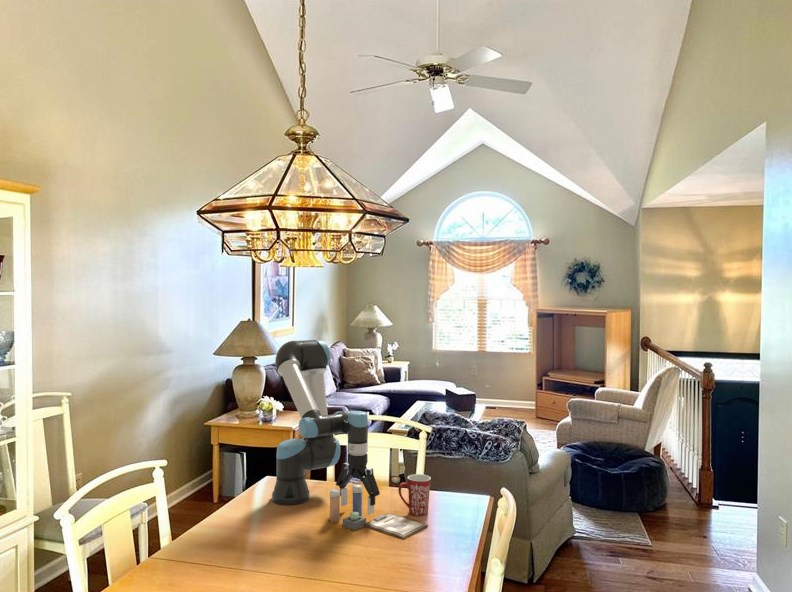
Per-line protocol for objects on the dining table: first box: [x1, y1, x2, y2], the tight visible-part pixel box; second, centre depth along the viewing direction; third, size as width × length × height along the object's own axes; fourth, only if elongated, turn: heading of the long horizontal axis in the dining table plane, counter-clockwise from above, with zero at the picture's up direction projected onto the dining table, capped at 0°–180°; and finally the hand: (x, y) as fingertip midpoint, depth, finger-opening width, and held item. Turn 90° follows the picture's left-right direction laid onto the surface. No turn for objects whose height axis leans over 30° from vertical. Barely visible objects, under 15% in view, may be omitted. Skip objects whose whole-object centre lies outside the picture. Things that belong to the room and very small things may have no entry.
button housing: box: [342, 515, 367, 531], centre depth 213 cm, size 6×6×2 cm
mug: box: [397, 473, 432, 517], centre depth 226 cm, size 13×9×14 cm
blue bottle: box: [351, 484, 363, 517], centre depth 223 cm, size 4×4×11 cm
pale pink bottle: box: [329, 488, 341, 523], centre depth 217 cm, size 4×4×11 cm
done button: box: [349, 511, 359, 522], centre depth 213 cm, size 3×3×2 cm
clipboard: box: [363, 512, 429, 540], centre depth 212 cm, size 18×14×2 cm
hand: (357, 509), depth 223 cm, fingers open, 13 cm apart
